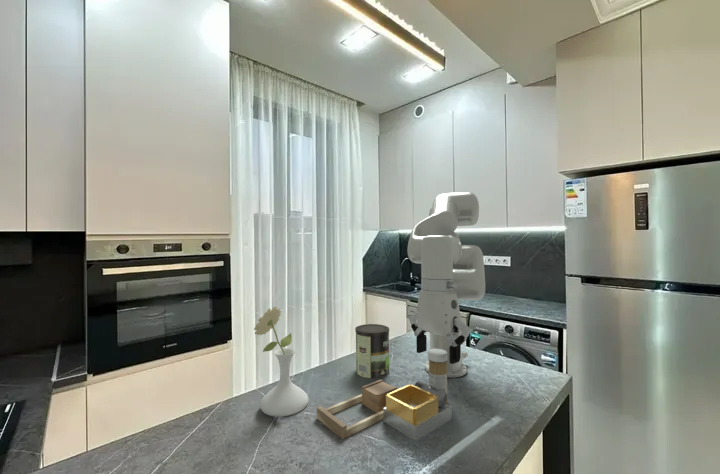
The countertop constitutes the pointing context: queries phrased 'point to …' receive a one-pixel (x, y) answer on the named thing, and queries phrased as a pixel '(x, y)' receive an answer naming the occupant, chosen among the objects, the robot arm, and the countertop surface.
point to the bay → (339, 426)
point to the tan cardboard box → (376, 395)
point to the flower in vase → (285, 393)
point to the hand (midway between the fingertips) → (437, 356)
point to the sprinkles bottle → (438, 369)
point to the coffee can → (372, 350)
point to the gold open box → (416, 409)
